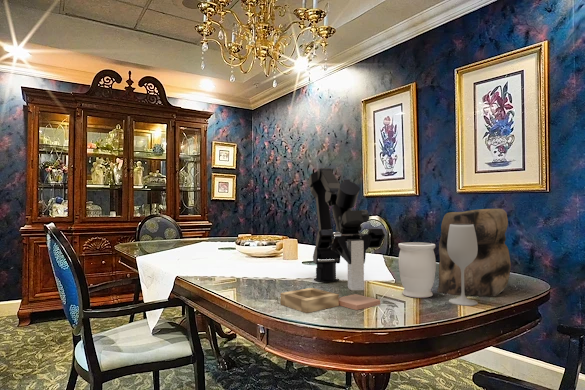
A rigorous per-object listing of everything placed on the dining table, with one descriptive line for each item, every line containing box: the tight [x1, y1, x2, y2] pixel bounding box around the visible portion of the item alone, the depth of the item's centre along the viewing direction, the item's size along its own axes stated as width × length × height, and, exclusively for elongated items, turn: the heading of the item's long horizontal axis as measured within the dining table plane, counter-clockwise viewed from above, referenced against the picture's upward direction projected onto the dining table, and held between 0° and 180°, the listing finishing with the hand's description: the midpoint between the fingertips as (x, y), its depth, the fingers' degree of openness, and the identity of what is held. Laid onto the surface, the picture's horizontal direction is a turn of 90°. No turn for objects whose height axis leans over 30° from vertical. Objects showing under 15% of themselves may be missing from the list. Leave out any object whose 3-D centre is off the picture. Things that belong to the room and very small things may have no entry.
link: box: [346, 240, 365, 291], centre depth 106 cm, size 3×3×13 cm
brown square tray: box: [280, 287, 340, 314], centre depth 105 cm, size 11×11×3 cm
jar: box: [398, 241, 437, 299], centre depth 116 cm, size 11×10×15 cm
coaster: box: [339, 293, 381, 311], centre depth 106 cm, size 9×9×1 cm
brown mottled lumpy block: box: [436, 208, 512, 297], centre depth 122 cm, size 20×20×25 cm
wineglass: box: [447, 224, 479, 307], centre depth 107 cm, size 8×8×21 cm
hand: (357, 263), depth 105 cm, fingers closed on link, 3 cm apart
